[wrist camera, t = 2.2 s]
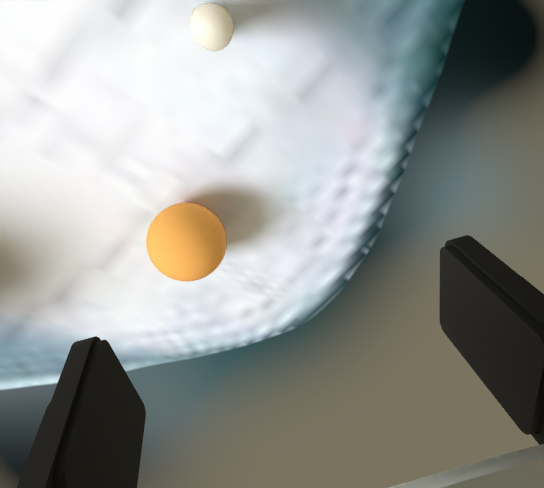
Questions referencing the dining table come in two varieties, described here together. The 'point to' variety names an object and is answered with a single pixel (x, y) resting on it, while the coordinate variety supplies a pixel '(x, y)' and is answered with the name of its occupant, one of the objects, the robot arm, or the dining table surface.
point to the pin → (211, 26)
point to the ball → (186, 242)
